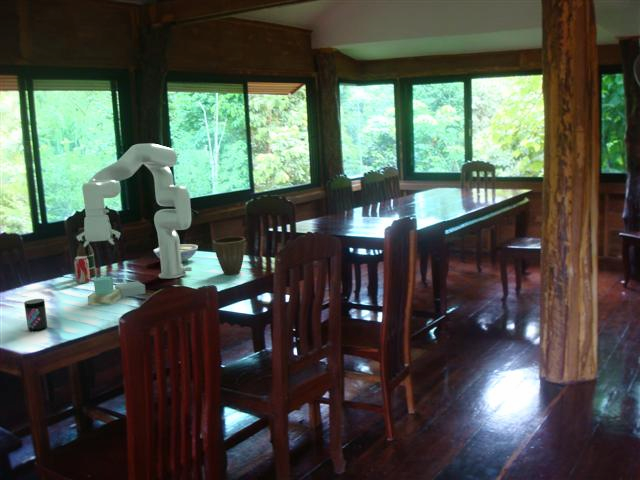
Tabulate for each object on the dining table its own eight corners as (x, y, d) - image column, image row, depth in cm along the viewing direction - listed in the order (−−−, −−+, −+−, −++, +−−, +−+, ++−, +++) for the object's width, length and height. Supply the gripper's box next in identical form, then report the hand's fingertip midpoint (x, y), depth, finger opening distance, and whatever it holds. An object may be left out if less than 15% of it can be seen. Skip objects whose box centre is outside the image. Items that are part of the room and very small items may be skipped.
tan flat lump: (121, 298, 285) (120, 289, 285) (112, 305, 276) (111, 295, 275) (97, 299, 286) (96, 290, 285) (88, 306, 276) (87, 296, 276)
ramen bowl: (194, 265, 343) (193, 249, 341) (149, 268, 343) (147, 252, 342) (203, 256, 367) (202, 241, 366) (161, 258, 368) (159, 243, 366)
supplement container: (25, 329, 246) (21, 301, 244) (44, 325, 250) (40, 297, 248) (31, 333, 241) (27, 304, 239) (50, 328, 245) (47, 300, 243)
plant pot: (227, 278, 309) (224, 243, 307) (209, 274, 321) (206, 240, 318) (254, 272, 319) (251, 238, 316) (235, 268, 330) (233, 235, 327)
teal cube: (113, 290, 283) (112, 276, 282) (110, 293, 278) (108, 279, 277) (99, 291, 283) (97, 277, 282) (95, 295, 277) (93, 280, 276)
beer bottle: (80, 279, 326) (74, 230, 321) (78, 276, 332) (72, 228, 328) (97, 277, 329) (92, 228, 325) (94, 274, 336) (89, 226, 332)
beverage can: (86, 284, 315) (83, 258, 313) (74, 284, 317) (70, 258, 315) (93, 280, 321) (90, 255, 319) (81, 281, 323) (78, 256, 321)
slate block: (138, 289, 299) (137, 280, 299) (145, 294, 291) (144, 284, 290) (115, 293, 294) (114, 284, 294) (122, 298, 286) (121, 289, 285)
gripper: (119, 210, 279) (124, 251, 282) (76, 213, 278) (81, 254, 281) (115, 212, 272) (120, 254, 275) (71, 216, 271) (76, 258, 274)
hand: (101, 254), depth 278 cm, fingers open, 9 cm apart
